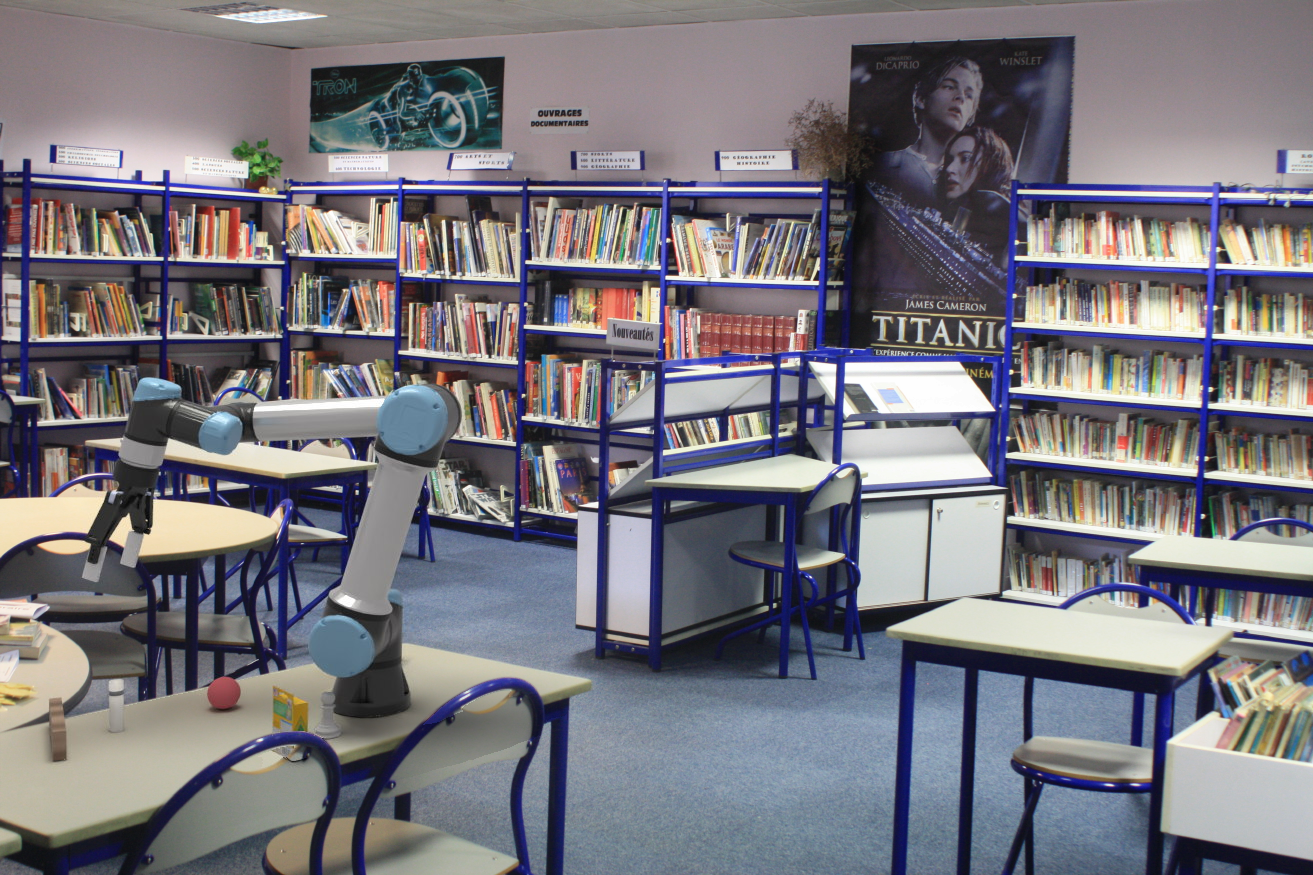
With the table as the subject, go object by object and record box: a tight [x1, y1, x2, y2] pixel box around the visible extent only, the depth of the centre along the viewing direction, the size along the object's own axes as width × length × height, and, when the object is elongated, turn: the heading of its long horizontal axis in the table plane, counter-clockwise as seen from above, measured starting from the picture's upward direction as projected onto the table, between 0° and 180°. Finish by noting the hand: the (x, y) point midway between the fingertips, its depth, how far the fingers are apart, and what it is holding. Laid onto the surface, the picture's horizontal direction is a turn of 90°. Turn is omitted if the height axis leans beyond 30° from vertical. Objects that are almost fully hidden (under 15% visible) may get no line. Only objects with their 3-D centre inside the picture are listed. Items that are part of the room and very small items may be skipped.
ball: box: [206, 676, 242, 710], centre depth 232 cm, size 6×6×6 cm
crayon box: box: [271, 685, 309, 759], centre depth 208 cm, size 7×3×12 cm, turn 44°
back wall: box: [48, 697, 67, 762], centre depth 211 cm, size 20×2×5 cm, turn 28°
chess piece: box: [314, 691, 342, 740], centre depth 218 cm, size 5×5×8 cm
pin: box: [108, 678, 125, 733], centre depth 218 cm, size 2×2×9 cm
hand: (109, 572), depth 224 cm, fingers open, 13 cm apart
